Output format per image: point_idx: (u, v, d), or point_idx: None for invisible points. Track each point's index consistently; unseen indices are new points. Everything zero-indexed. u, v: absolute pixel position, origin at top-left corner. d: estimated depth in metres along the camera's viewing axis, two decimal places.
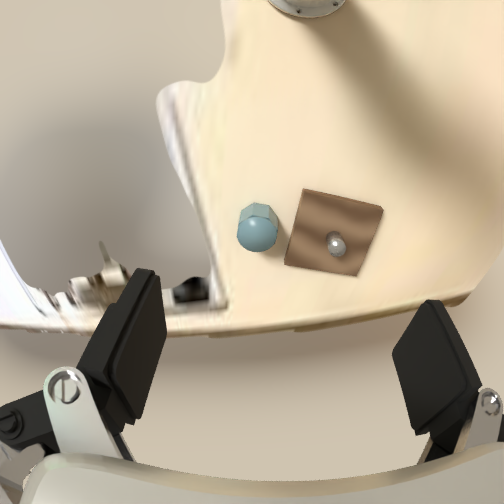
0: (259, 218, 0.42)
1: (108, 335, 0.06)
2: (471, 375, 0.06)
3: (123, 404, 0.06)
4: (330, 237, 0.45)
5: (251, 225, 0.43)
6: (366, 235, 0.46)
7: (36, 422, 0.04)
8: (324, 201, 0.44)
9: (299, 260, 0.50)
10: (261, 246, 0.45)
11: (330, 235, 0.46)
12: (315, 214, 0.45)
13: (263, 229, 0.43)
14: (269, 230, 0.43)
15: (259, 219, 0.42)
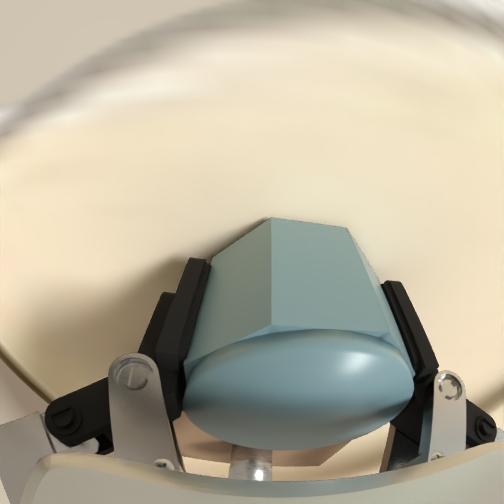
0: (397, 412, 0.06)
1: (175, 319, 0.07)
2: (426, 355, 0.06)
3: (183, 389, 0.07)
4: (266, 458, 0.15)
5: (371, 400, 0.06)
6: None
7: (98, 413, 0.05)
8: None
9: None
10: (228, 428, 0.07)
11: (267, 451, 0.15)
12: None
13: (334, 429, 0.07)
14: (324, 439, 0.07)
15: (393, 413, 0.06)
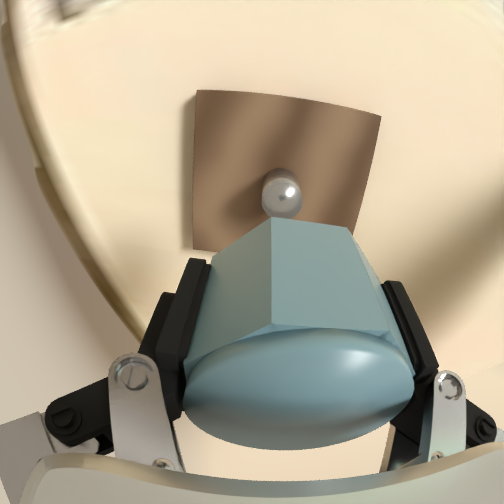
0: (397, 412, 0.06)
1: (175, 320, 0.07)
2: (426, 355, 0.06)
3: (182, 389, 0.07)
4: (294, 178, 0.20)
5: (371, 399, 0.06)
6: None
7: (98, 413, 0.05)
8: (362, 156, 0.20)
9: (213, 121, 0.20)
10: (228, 427, 0.07)
11: (294, 177, 0.21)
12: (334, 139, 0.20)
13: (334, 428, 0.07)
14: (324, 438, 0.07)
15: (393, 412, 0.06)
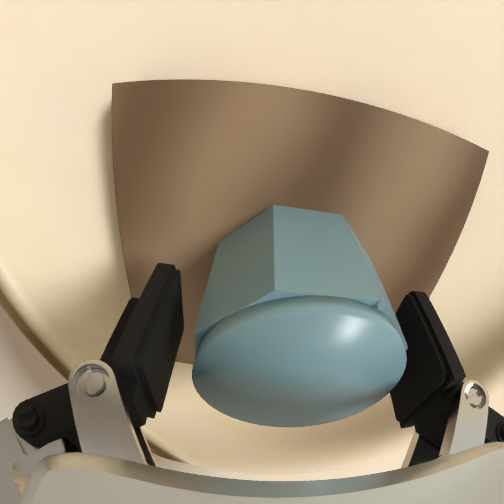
0: (393, 385, 0.07)
1: (134, 327, 0.06)
2: (454, 366, 0.06)
3: (146, 396, 0.07)
4: None
5: (367, 369, 0.07)
6: None
7: (59, 417, 0.05)
8: (448, 225, 0.10)
9: (147, 149, 0.09)
10: (233, 400, 0.08)
11: None
12: (408, 193, 0.09)
13: (333, 401, 0.08)
14: (324, 413, 0.08)
15: (389, 386, 0.07)
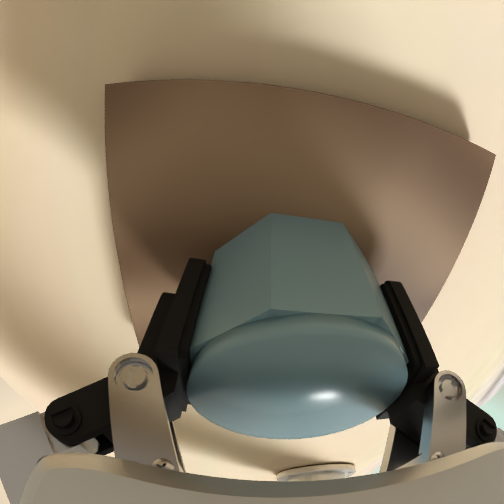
0: (282, 438, 0.08)
1: (175, 320, 0.07)
2: (426, 355, 0.06)
3: (182, 389, 0.07)
4: None
5: (319, 425, 0.08)
6: (152, 299, 0.12)
7: (98, 413, 0.05)
8: None
9: (444, 172, 0.08)
10: (271, 366, 0.06)
11: None
12: None
13: (263, 420, 0.07)
14: (232, 417, 0.07)
15: (281, 436, 0.08)
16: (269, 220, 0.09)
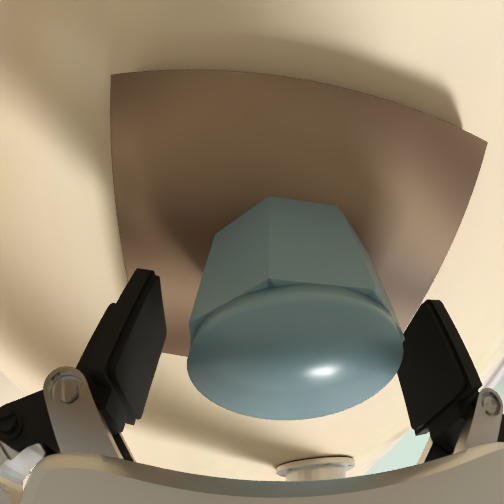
0: (281, 419, 0.09)
1: (108, 335, 0.06)
2: (471, 375, 0.06)
3: (123, 404, 0.06)
4: None
5: (318, 404, 0.08)
6: None
7: (36, 422, 0.04)
8: None
9: (436, 157, 0.08)
10: (269, 337, 0.06)
11: None
12: None
13: (261, 397, 0.08)
14: (231, 394, 0.08)
15: (280, 417, 0.09)
16: (267, 202, 0.09)
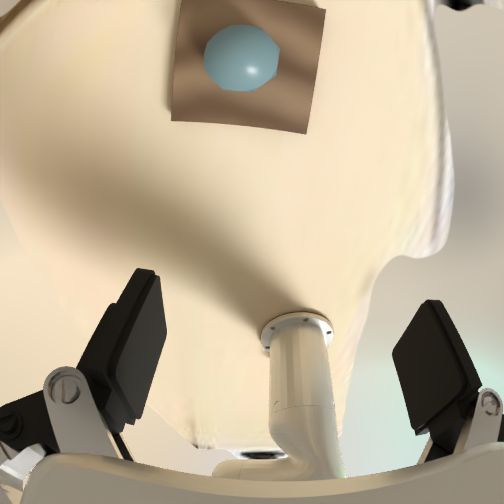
0: (238, 90, 0.21)
1: (108, 335, 0.06)
2: (471, 375, 0.06)
3: (123, 404, 0.06)
4: None
5: (251, 76, 0.20)
6: (186, 73, 0.24)
7: (36, 422, 0.04)
8: (272, 121, 0.27)
9: (299, 16, 0.20)
10: (230, 36, 0.18)
11: None
12: (284, 98, 0.25)
13: (229, 70, 0.20)
14: (217, 69, 0.20)
15: (237, 88, 0.20)
16: None
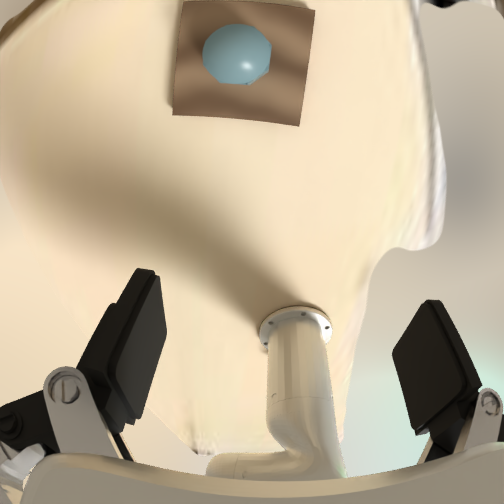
0: (233, 82, 0.22)
1: (108, 335, 0.06)
2: (471, 375, 0.06)
3: (123, 404, 0.06)
4: None
5: (246, 69, 0.21)
6: (186, 70, 0.25)
7: (36, 422, 0.04)
8: (267, 114, 0.28)
9: (291, 17, 0.22)
10: (226, 34, 0.19)
11: None
12: (278, 93, 0.27)
13: (225, 65, 0.21)
14: (215, 64, 0.21)
15: (233, 81, 0.22)
16: None
